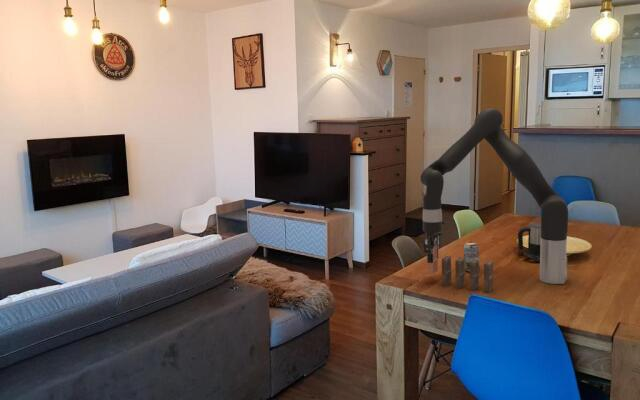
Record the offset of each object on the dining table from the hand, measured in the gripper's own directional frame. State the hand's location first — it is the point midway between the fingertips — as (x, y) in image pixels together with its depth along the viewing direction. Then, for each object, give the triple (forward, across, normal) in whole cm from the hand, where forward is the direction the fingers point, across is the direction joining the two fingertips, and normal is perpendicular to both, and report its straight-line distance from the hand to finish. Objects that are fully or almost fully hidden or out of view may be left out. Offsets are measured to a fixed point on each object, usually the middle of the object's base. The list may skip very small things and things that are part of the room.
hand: (432, 260), depth 204 cm
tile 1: (+9, 0, -22) cm, 24 cm away
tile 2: (+9, 0, -17) cm, 19 cm away
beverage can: (+9, +21, -9) cm, 25 cm away
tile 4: (+9, 0, -6) cm, 11 cm away
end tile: (+5, 0, 0) cm, 5 cm away
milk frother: (+9, +50, -30) cm, 59 cm away
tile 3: (+9, 0, -11) cm, 14 cm away
